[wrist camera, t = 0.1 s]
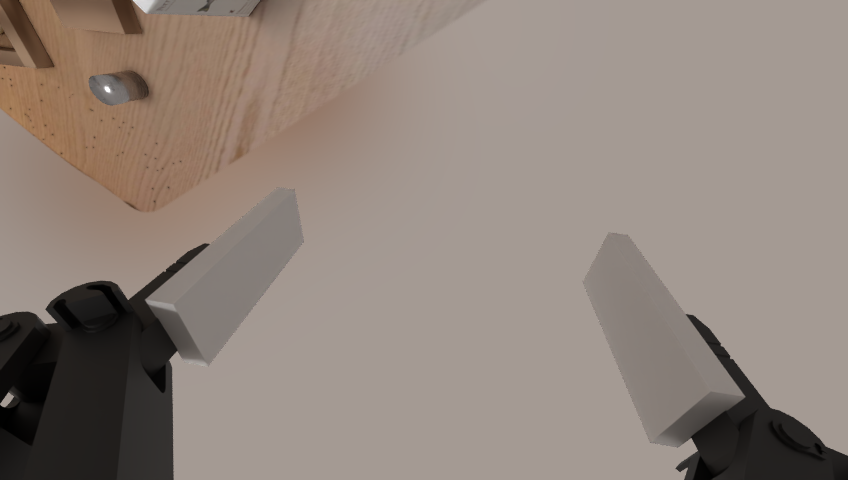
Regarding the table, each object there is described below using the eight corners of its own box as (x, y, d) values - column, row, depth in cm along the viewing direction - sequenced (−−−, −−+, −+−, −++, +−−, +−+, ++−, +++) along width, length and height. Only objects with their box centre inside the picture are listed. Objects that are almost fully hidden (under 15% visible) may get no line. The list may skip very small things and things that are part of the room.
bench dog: (117, 69, 37) (83, 74, 33) (141, 72, 37) (109, 77, 33) (129, 96, 38) (97, 103, 35) (152, 99, 38) (122, 106, 35)
